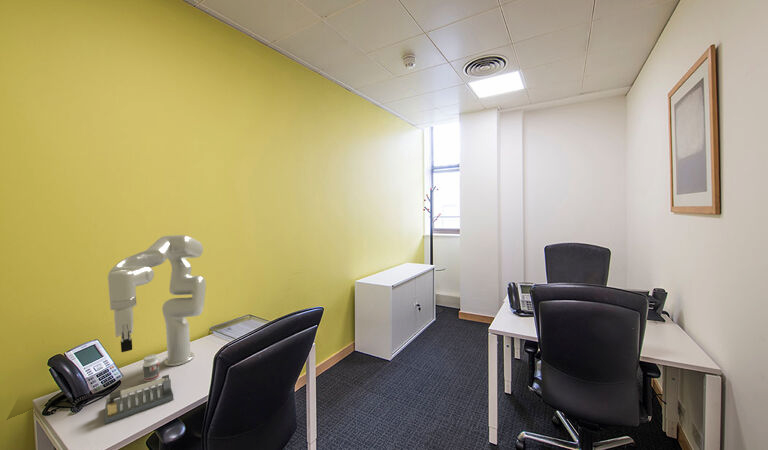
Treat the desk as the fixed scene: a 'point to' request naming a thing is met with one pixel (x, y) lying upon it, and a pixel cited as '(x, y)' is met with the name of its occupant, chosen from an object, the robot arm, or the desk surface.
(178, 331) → the robot arm
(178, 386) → the desk surface
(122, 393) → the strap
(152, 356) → the pill bottle
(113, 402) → the grey slotted rack
